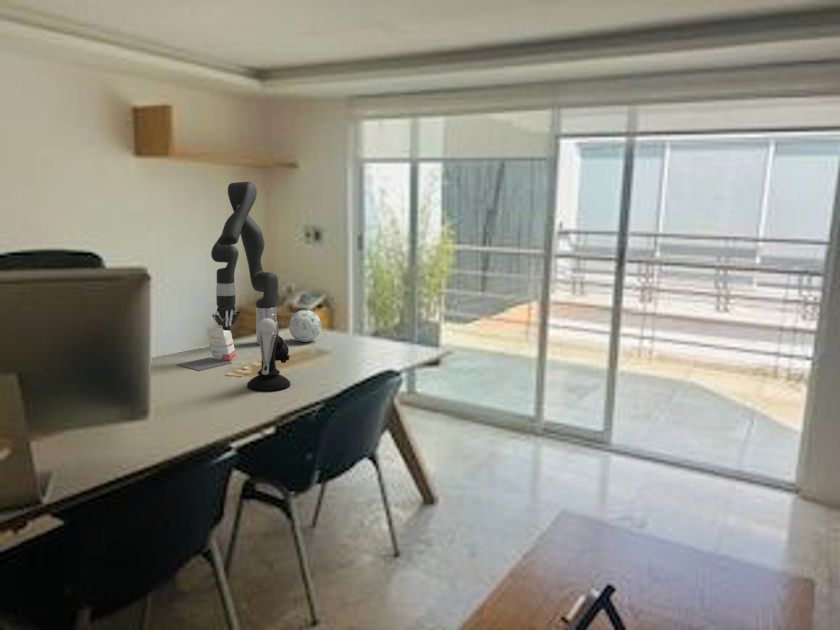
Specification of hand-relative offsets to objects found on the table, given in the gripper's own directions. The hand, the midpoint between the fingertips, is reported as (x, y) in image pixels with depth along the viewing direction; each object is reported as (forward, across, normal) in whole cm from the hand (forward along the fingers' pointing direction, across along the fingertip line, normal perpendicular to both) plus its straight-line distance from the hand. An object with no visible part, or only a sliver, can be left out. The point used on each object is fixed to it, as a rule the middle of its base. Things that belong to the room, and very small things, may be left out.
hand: (226, 335), depth 273 cm
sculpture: (+11, +12, +41) cm, 44 cm away
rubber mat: (+10, +11, 0) cm, 15 cm away
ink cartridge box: (+9, +1, 0) cm, 9 cm away
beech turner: (+10, +7, +20) cm, 24 cm away
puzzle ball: (+10, -46, 0) cm, 47 cm away
